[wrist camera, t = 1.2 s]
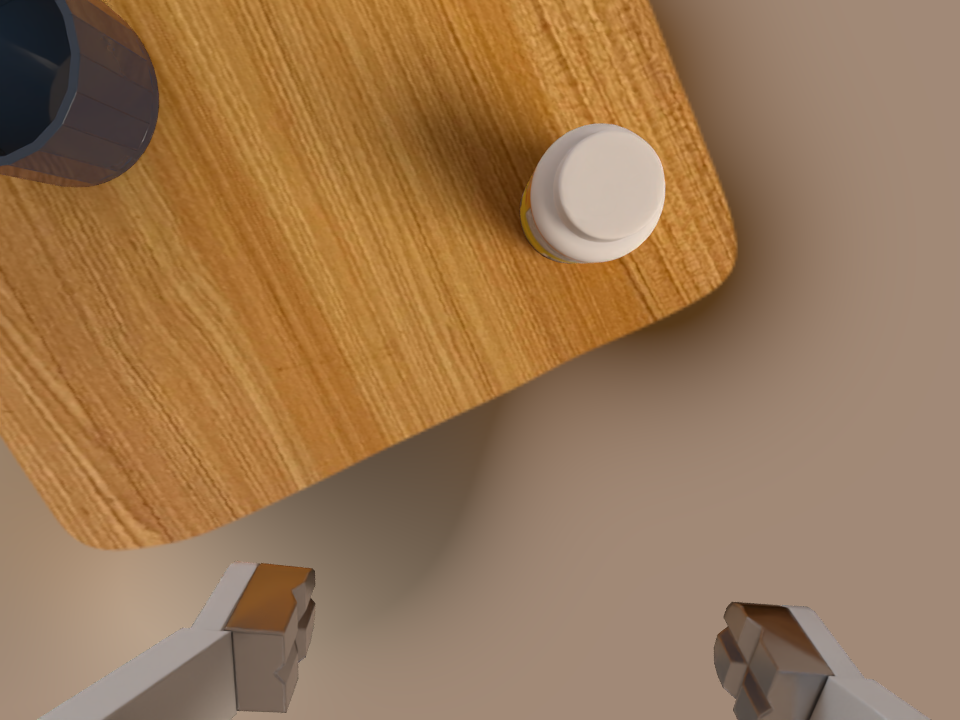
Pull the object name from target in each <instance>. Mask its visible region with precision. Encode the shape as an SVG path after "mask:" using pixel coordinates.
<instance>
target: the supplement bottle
mask: <svg viewBox="0 0 960 720" xmlns="http://www.w3.org/2000/svg"><path fill="white" fill-rule="evenodd" d="M664 200H665V181H664V172H663V168H662V165H661V162H660V159H659V157H658V155H657V154H656V152H655V151H654V149H653V148H652V147H651V146H650V145H649V144H648V143H647V142H646V141H645V140H644V139H642V138H641V137H639V136H638V135H637V134H635V133H633V132H632V131H630V130H628V129H625V128H623V127H620V126H617V125H612V124H590V125H585V126H582V127H578V128H576V129H574V130H571V131H569V132H568V133H566V134H564V135H563V136H562V137H560V138H559V139H557V140H556V141H555V142H554V143H553V144H552V145H551V146H550V147H549V148H548V150H547V151H546V152H545V154H544V155H543V156H542V158H541V160H540V161H539V163H538V165H537V167H536V169H535V170H534V172H533V174H532V176H531V178H530V179H529V181H528V183H527V185H526V187H525V189H524V192H523V195H522V198H521V202H520V222H521V226H522V229H523V232H524V234H525V237H526V238H527V240H528V241H529V243H530V244H531V245H532V247H533V248H534V249H535V250H536V251H538V252H539V253H540V254H541V255H543V256H544V257H546V258H548V259H551V260H553V261H556V262H561V263H597V262H606V261H610V260H614V259H617V258H620V257H622V256H624V255H626V254H628V253H630V252H631V251H633V250H634V249H636V248H637V247H638V246H639V245H641V244H642V243H643V242H644V241H645V240H646V239H647V237H648V236H649V235H650V234H651V232H652V231H653V229H654V228H655V226H656V224H657V222H658V220H659V218H660V215H661V212H662V209H663V205H664Z"/></svg>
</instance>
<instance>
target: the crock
mask: <svg viewBox="0 0 960 720" xmlns="http://www.w3.org/2000/svg"><path fill="white" fill-rule="evenodd" d="M158 109H159V92H158V85H157V79H156V75H155V71H154V68H153V65H152V62H151V60H150V57H149V55H148V53H147V51H146V49H145V47H144V45H143V44H142V42H141V41H140V39H139V38H138V36H137V35H136V33H135V32H134V31H133V30H132V28H131V27H130V26H129V25H128V24H127V23H126V22H125V21H124V20H123V19H122V18H121V17H120V16H119V15H118V14H117V13H115V12H114V11H113V10H112V9H111V8H110V7H109V6H107V5H106V4H104V3H103V2H102V1H100V0H0V174H2V175H7V176H12V177H17V178H22V179H27V180H32V181H37V182H42V183H47V184H52V185H57V186H62V187H89V186H94V185H99V184H102V183H105V182H108V181H110V180H112V179H114V178H116V177H118V176H120V175H121V174H123V173H124V172H125V171H127V170H128V169H129V168H130V167H131V166H132V165H134V164H135V163H136V162H137V160H138V159H139V158H140V157H141V155H142V154H143V153H144V151H145V150H146V148H147V146H148V144H149V143H150V140H151V138H152V135H153V133H154V130H155V126H156V122H157V118H158Z"/></svg>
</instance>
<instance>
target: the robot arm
mask: <svg viewBox="0 0 960 720" xmlns="http://www.w3.org/2000/svg"><path fill="white" fill-rule="evenodd" d="M314 587H315V571H314V570H313V569H312V568H303V567H293V566H283V565H274V564H264V563H261V564H258V563H249V562H240V561H234V562H233V563H232V564H231V565H229V566H228V568H227V569H226V571H225V572H224V574H223V576H222V577H221V579H220V581H219V582H218V584H217V586H216V587H215V589H214V591H213V592H212V594H211V595H210V597H209V599H208V600H207V602H206V604H205V605H204V607H203V609H202V610H201V612H200V614H199V615H198V617H197V618H196V620H195V622H194V623H193V625H192V627H191V628H181V629H179V630H178V631H176V632H175V633H173V634H171V635H170V636H168V637H167V638H165V639H164V640H162V641H160V642H159V643H157V644H156V645H154V646H152V647H151V648H149V649H148V650H146V651H145V652H143V653H141V654H140V655H138V656H137V657H135V658H134V659H132V660H130V661H129V662H127V663H126V664H124V665H122V666H121V667H119V668H118V669H116V670H115V671H113V672H111V673H110V674H108V675H107V676H105V677H104V678H102V679H100V680H99V681H97V682H95V683H94V684H92V685H91V686H89V687H88V688H86V689H85V690H83V691H81V692H80V693H78V694H77V695H75V696H73V697H72V698H70V699H69V700H67V701H66V702H64V703H62V704H61V705H59V706H58V707H56V708H54V709H53V710H51V711H50V712H48V713H47V714H45V715H43V716H42V717H40V718H39V719H37V720H231V719H232V718H233V717H234V716H235V715H236V714H237V713H236V711H257V712H281V713H286V712H287V709H288V706H289V703H290V701H291V698H292V695H293V692H294V689H295V686H296V683H297V681H298V663H299V662H300V661H301V660H302V659H304V658H305V657H306V654H307V651H308V648H309V645H310V641H311V637H312V632H313V627H314V620H315V602H314V601H313V600H312V599H311V595H312V592H313V590H314ZM724 619H725V621H726V623H727V625H728V627H727V628H725V629H724V630H723V631H721V632H720V633H719V634H718V635H717V638H716V642H715V646H714V664H715V668H716V671H717V675H718V678H719V680H720V682H721V684H722V687H723V688H724V689H725V690H726V691H727V692H728V693H730V694H731V695H732V696H733V697H734V698H735V699H736V701H735V705H734V708H733V711H734V713H735V715H736V717H737V719H738V720H931V719H930V718H928V717H927V716H925V715H923V714H922V713H921V712H919V711H918V710H917V709H915V708H914V707H912V706H911V705H909V704H908V703H906V702H905V701H904V700H902V699H901V698H899V697H897V696H896V695H895V694H893V693H892V692H891V691H889V690H888V689H886V688H885V687H883V686H882V685H880V684H879V683H878V682H876V681H875V680H872V679H865V678H864V677H863V675H862V674H861V673H860V671H859V670H858V669H857V667H856V666H855V665H854V663H853V662H852V661H851V659H850V658H849V657H848V656H847V654H846V653H845V651H844V650H843V648H842V647H841V646H840V645H839V643H838V642H837V640H836V639H835V638H834V637H833V635H832V634H831V632H830V631H829V630H828V628H827V627H826V626H825V624H824V623H823V622H822V621H821V619H820V618H819V616H818V615H817V614H816V612H815V611H813V610H812V609H810V608H809V607H804V606H803V607H802V606H788V605H782V606H780V605H768V604H754V603H741V602H731V603H730V604H729V605H728V607H727V608H726V611H725V614H724Z"/></svg>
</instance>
